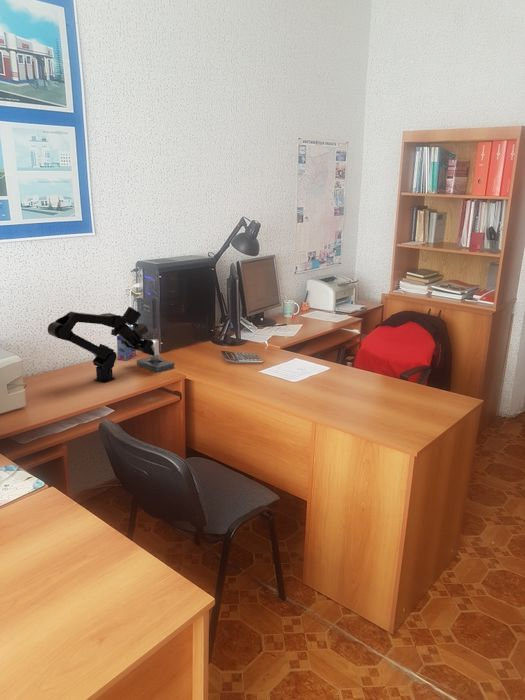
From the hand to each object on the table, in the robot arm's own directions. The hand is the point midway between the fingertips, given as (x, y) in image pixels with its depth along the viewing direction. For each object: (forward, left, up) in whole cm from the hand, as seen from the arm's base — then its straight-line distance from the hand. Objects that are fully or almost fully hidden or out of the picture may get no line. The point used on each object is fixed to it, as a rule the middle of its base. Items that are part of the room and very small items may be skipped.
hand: (148, 352), depth 259 cm
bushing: (+3, -1, -8) cm, 8 cm away
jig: (+4, -1, -8) cm, 9 cm away
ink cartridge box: (+7, +20, -8) cm, 23 cm away
